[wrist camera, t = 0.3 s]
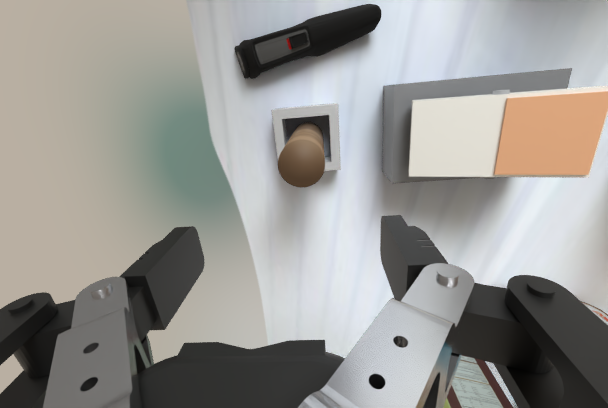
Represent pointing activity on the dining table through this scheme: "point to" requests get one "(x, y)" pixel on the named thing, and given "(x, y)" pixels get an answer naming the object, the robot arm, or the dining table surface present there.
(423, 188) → the dining table surface
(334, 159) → the holder
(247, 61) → the electric trimmer
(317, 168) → the wooden peg
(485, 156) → the rocker switch
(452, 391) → the protein box
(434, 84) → the switch box
